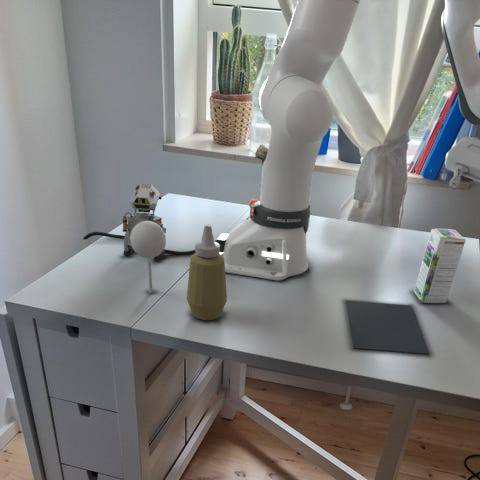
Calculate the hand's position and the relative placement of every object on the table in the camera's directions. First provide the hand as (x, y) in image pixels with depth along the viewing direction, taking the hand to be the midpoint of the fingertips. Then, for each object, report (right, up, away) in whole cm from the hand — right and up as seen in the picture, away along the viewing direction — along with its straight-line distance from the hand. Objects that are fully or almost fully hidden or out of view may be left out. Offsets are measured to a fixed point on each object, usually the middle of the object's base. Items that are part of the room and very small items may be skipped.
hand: (472, 193), depth 120 cm
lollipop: (-68, -21, +2) cm, 71 cm away
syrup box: (-7, -21, +6) cm, 23 cm away
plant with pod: (-42, +8, +40) cm, 58 cm away
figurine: (-72, -7, +18) cm, 74 cm away
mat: (-20, -29, -5) cm, 36 cm away
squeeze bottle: (-56, -27, -5) cm, 62 cm away
